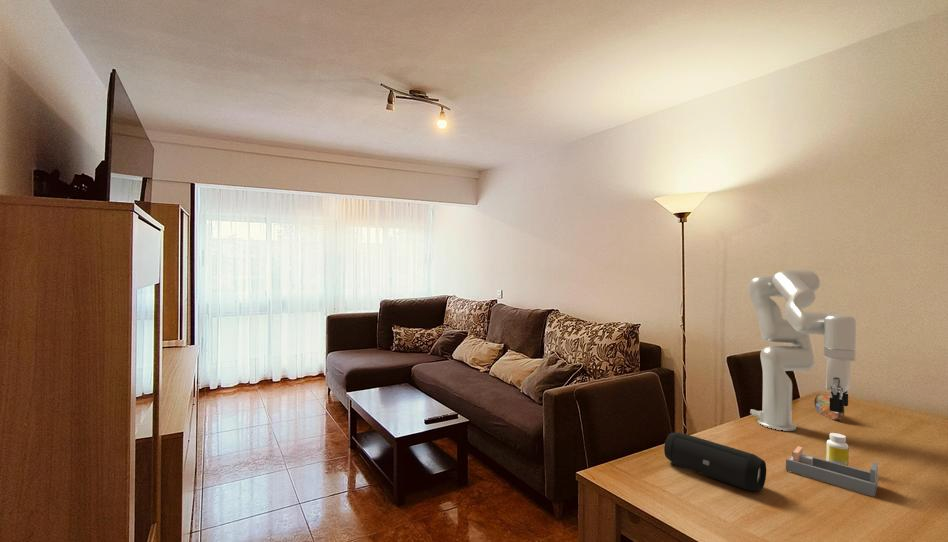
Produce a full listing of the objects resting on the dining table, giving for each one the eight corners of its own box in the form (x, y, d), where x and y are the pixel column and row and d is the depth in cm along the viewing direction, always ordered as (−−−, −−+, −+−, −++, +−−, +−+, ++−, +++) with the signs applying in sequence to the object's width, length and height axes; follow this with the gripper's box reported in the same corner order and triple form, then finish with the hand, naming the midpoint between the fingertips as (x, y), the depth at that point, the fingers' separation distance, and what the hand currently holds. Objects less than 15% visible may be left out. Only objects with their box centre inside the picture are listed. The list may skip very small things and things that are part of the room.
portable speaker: (662, 465, 135) (663, 434, 135) (676, 456, 141) (677, 426, 141) (755, 499, 116) (756, 463, 115) (767, 487, 122) (767, 452, 122)
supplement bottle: (852, 470, 132) (853, 439, 132) (832, 469, 133) (833, 437, 133) (841, 462, 138) (841, 432, 138) (822, 461, 139) (822, 431, 139)
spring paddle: (792, 467, 132) (793, 451, 132) (797, 460, 136) (797, 446, 136) (809, 472, 128) (810, 456, 128) (814, 465, 133) (814, 450, 133)
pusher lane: (785, 470, 132) (786, 448, 132) (792, 462, 138) (793, 440, 138) (874, 497, 117) (874, 471, 117) (877, 486, 123) (878, 461, 123)
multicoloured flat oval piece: (813, 410, 189) (813, 391, 189) (821, 410, 188) (821, 391, 188) (837, 422, 174) (837, 402, 174) (846, 423, 174) (846, 402, 173)
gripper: (829, 349, 144) (828, 400, 144) (818, 355, 132) (818, 411, 132) (859, 352, 138) (858, 405, 138) (851, 359, 126) (850, 417, 126)
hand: (838, 408), depth 135 cm, fingers open, 9 cm apart
